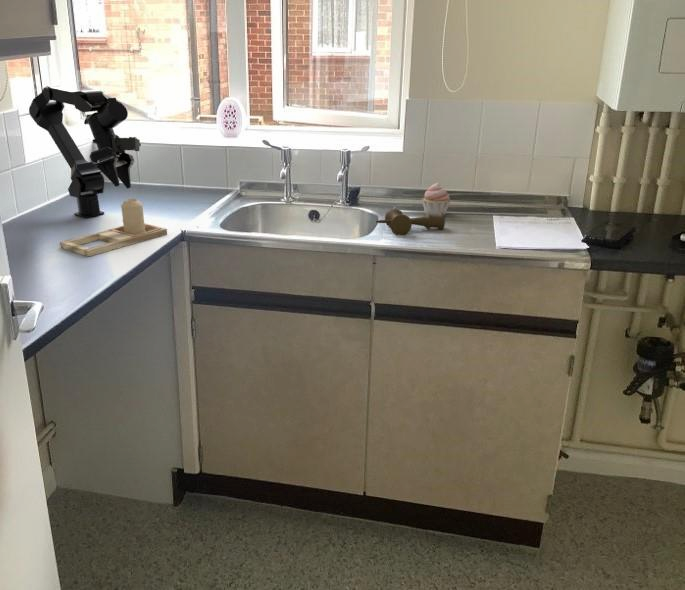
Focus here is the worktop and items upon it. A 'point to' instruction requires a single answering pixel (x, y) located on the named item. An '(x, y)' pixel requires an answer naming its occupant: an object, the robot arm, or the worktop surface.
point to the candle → (133, 217)
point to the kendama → (411, 221)
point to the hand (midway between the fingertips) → (123, 187)
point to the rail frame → (111, 239)
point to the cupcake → (436, 200)
